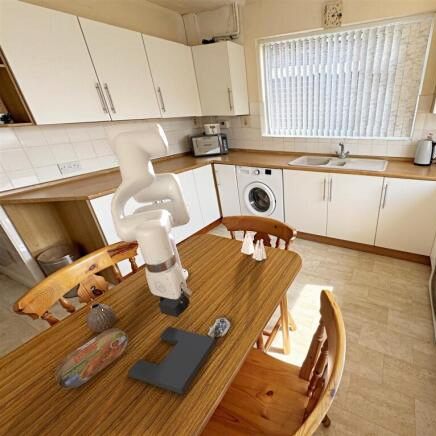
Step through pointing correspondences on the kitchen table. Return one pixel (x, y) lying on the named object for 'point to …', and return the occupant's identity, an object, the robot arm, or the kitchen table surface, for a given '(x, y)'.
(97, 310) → the vase
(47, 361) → the kitchen table surface
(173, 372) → the charcoal pad
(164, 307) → the dark grey squat block
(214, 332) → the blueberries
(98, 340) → the tin
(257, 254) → the shaker set
